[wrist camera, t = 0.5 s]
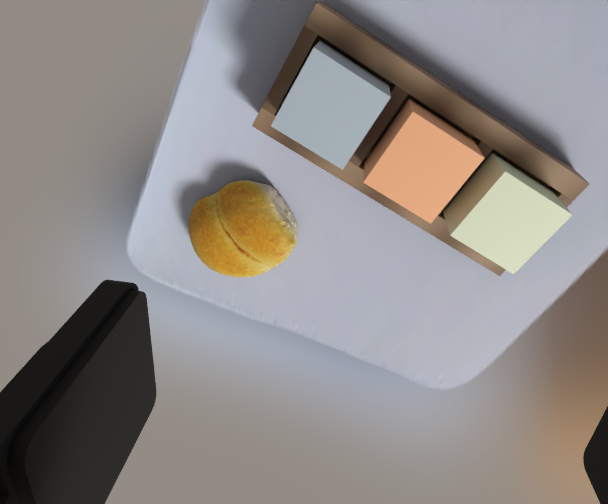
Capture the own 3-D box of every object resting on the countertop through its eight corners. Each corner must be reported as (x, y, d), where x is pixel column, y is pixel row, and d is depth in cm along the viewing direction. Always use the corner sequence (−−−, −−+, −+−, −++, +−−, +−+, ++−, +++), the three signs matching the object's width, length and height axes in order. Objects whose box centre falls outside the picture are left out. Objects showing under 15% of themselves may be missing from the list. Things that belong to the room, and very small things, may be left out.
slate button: (389, 85, 33) (390, 97, 29) (345, 151, 35) (342, 169, 32) (320, 40, 32) (313, 47, 28) (281, 111, 34) (270, 126, 31)
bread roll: (177, 210, 42) (160, 230, 39) (261, 161, 39) (250, 178, 36) (232, 282, 45) (220, 307, 42) (314, 242, 42) (308, 265, 39)
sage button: (552, 191, 35) (572, 214, 31) (500, 247, 37) (513, 274, 34) (491, 152, 34) (505, 171, 30) (442, 211, 36) (450, 235, 33)
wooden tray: (574, 169, 36) (589, 184, 33) (491, 257, 40) (499, 275, 38) (321, 1, 33) (316, 2, 30) (260, 115, 37) (251, 125, 34)
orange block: (473, 139, 34) (484, 157, 30) (425, 200, 36) (430, 223, 33) (408, 98, 33) (412, 111, 29) (364, 162, 35) (363, 182, 32)
